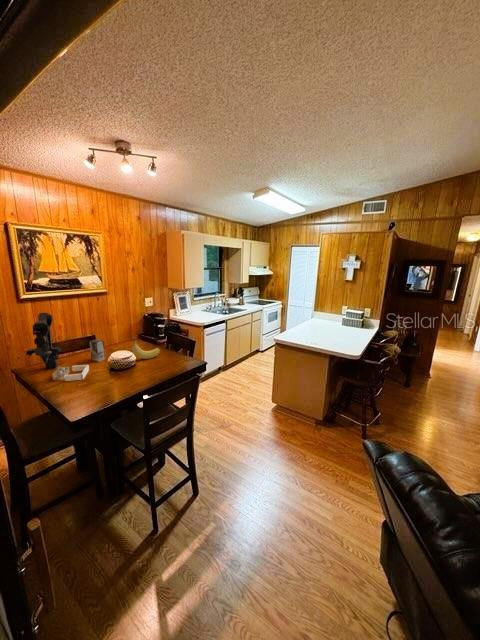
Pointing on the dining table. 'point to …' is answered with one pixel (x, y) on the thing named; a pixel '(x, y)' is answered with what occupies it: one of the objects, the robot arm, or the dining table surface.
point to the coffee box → (97, 350)
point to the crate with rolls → (60, 373)
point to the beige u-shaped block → (78, 376)
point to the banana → (144, 354)
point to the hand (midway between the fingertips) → (45, 362)
